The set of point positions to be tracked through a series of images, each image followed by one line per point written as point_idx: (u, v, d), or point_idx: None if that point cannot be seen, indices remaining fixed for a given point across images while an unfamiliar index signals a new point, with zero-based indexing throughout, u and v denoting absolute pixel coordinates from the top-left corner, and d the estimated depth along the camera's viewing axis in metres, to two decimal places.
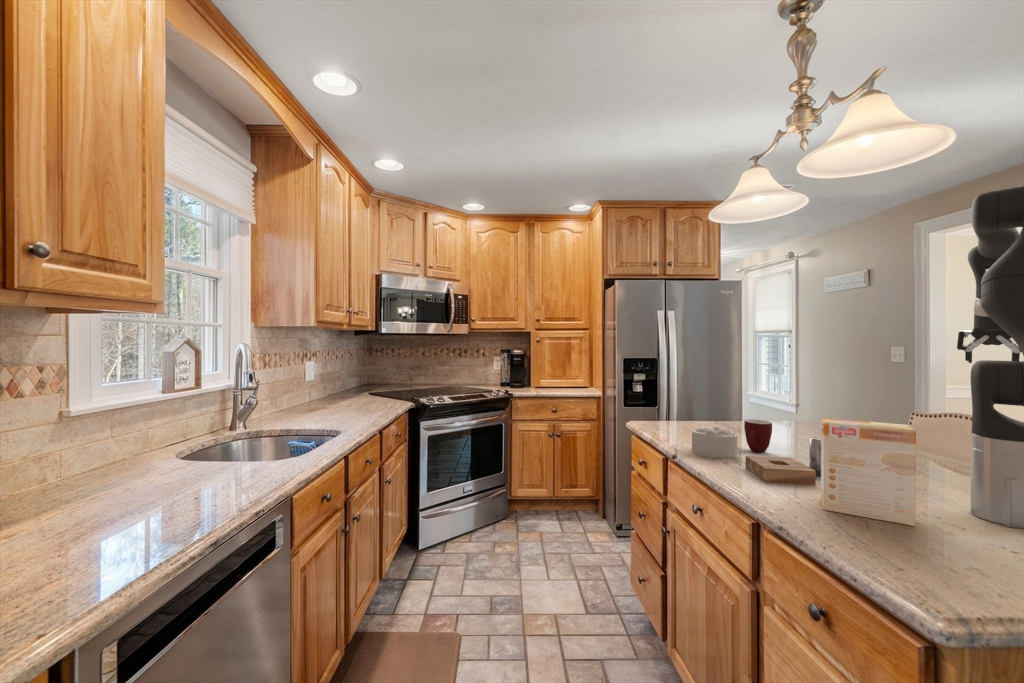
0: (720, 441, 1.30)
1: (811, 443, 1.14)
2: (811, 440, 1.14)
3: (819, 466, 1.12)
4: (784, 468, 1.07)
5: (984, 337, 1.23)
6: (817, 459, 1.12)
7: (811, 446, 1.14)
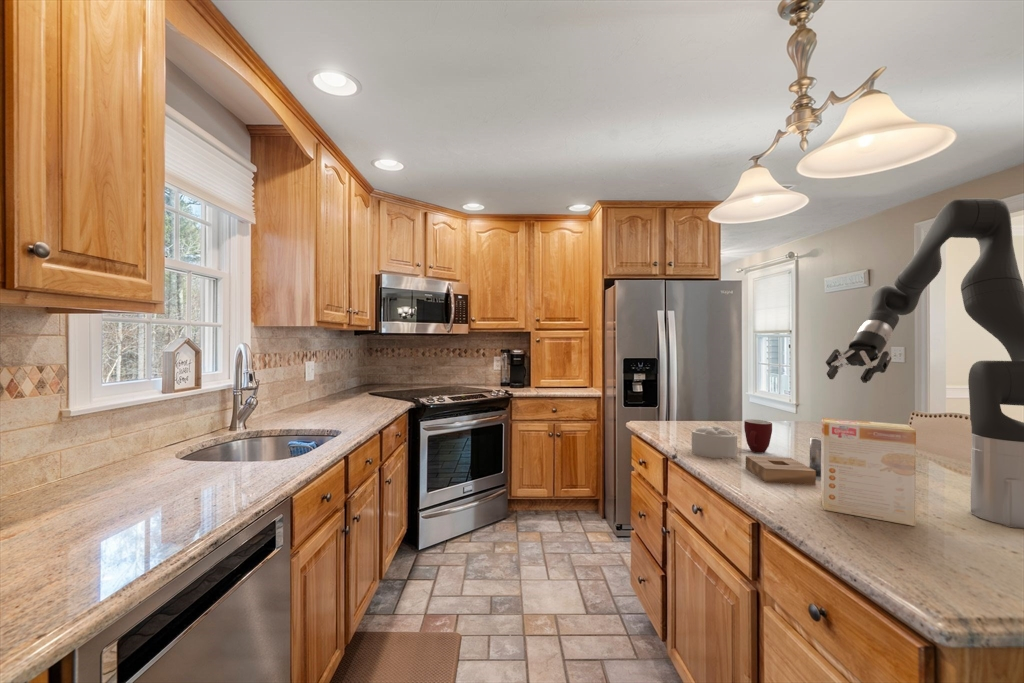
0: (719, 441, 1.30)
1: (811, 443, 1.14)
2: (811, 440, 1.14)
3: (819, 466, 1.12)
4: (784, 468, 1.07)
5: (850, 352, 1.22)
6: (817, 459, 1.12)
7: (811, 446, 1.14)
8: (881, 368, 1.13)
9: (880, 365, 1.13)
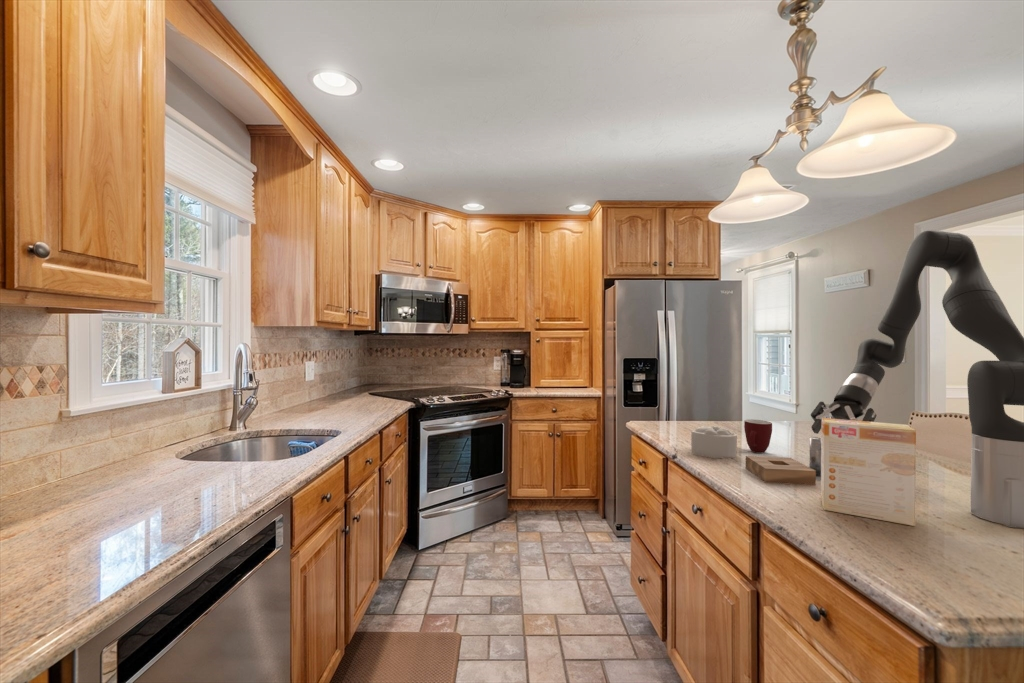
0: (719, 440, 1.30)
1: (811, 443, 1.14)
2: (811, 440, 1.14)
3: (819, 466, 1.12)
4: (784, 468, 1.07)
5: (835, 406, 1.19)
6: (817, 459, 1.12)
7: (811, 446, 1.14)
8: None
9: None
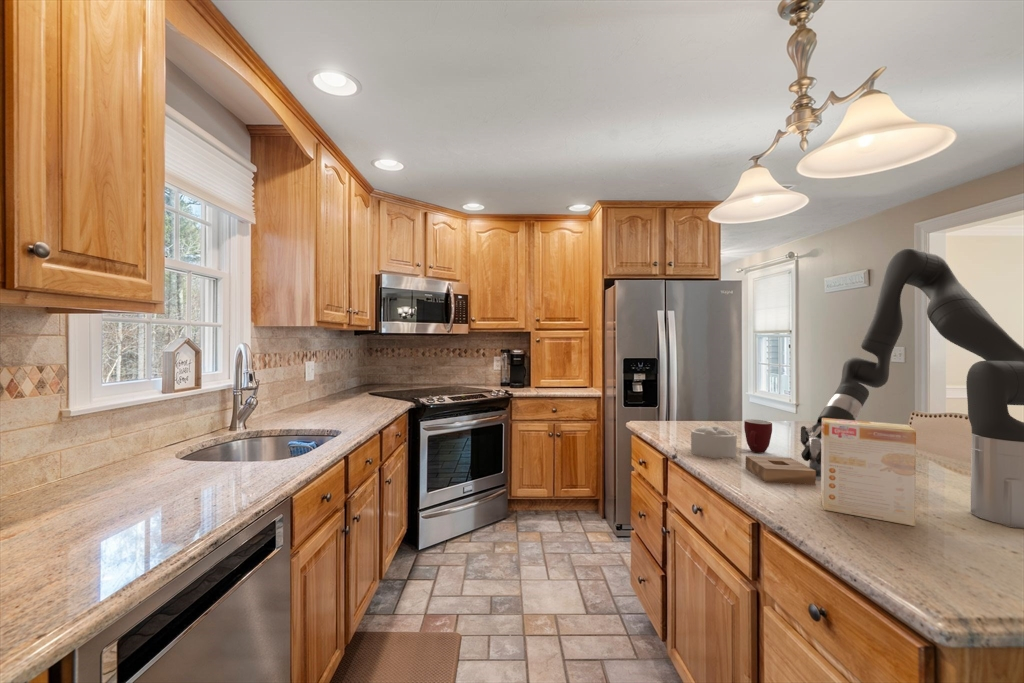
0: (719, 440, 1.30)
1: (811, 443, 1.14)
2: (811, 440, 1.14)
3: (819, 466, 1.12)
4: (784, 468, 1.07)
5: (818, 428, 1.16)
6: None
7: (811, 446, 1.14)
8: None
9: None
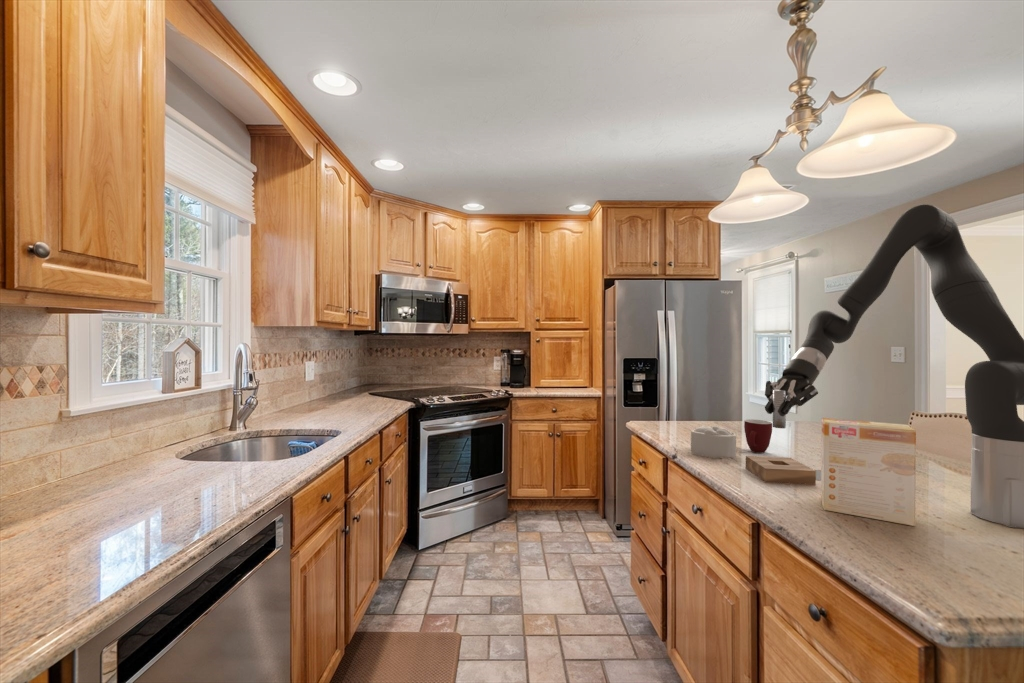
0: (719, 440, 1.30)
1: (774, 395, 1.12)
2: (774, 392, 1.12)
3: (782, 418, 1.11)
4: (784, 468, 1.07)
5: (782, 381, 1.15)
6: None
7: (774, 398, 1.12)
8: (798, 401, 1.09)
9: (796, 398, 1.09)
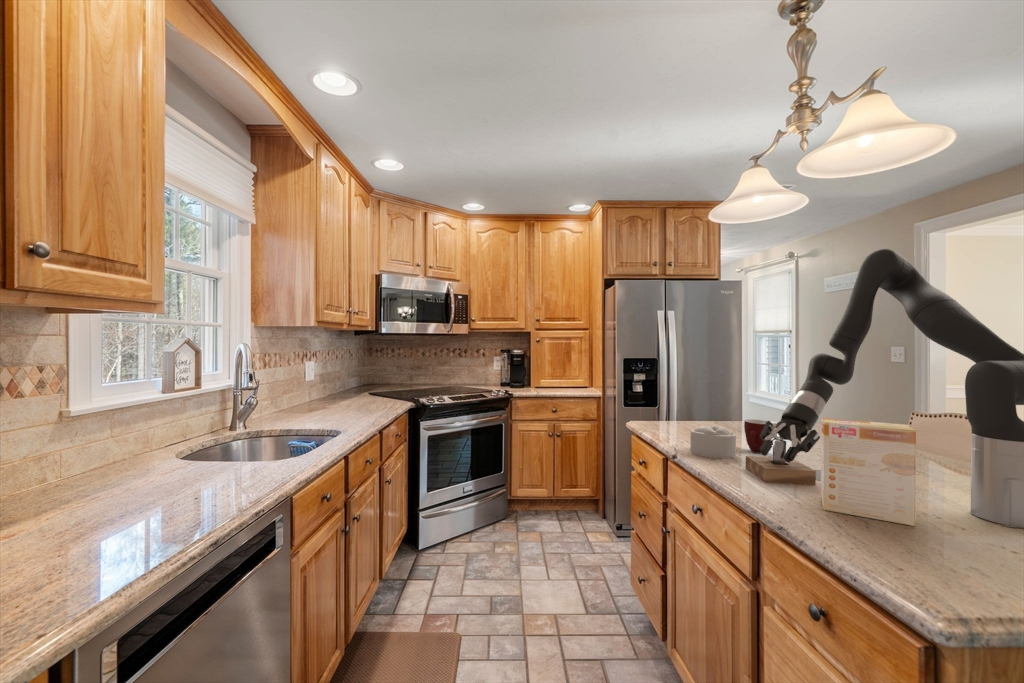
0: (718, 440, 1.30)
1: (774, 445, 1.12)
2: (774, 442, 1.12)
3: None
4: (784, 468, 1.07)
5: (782, 425, 1.15)
6: (780, 462, 1.11)
7: (774, 448, 1.12)
8: (804, 448, 1.07)
9: (803, 444, 1.07)
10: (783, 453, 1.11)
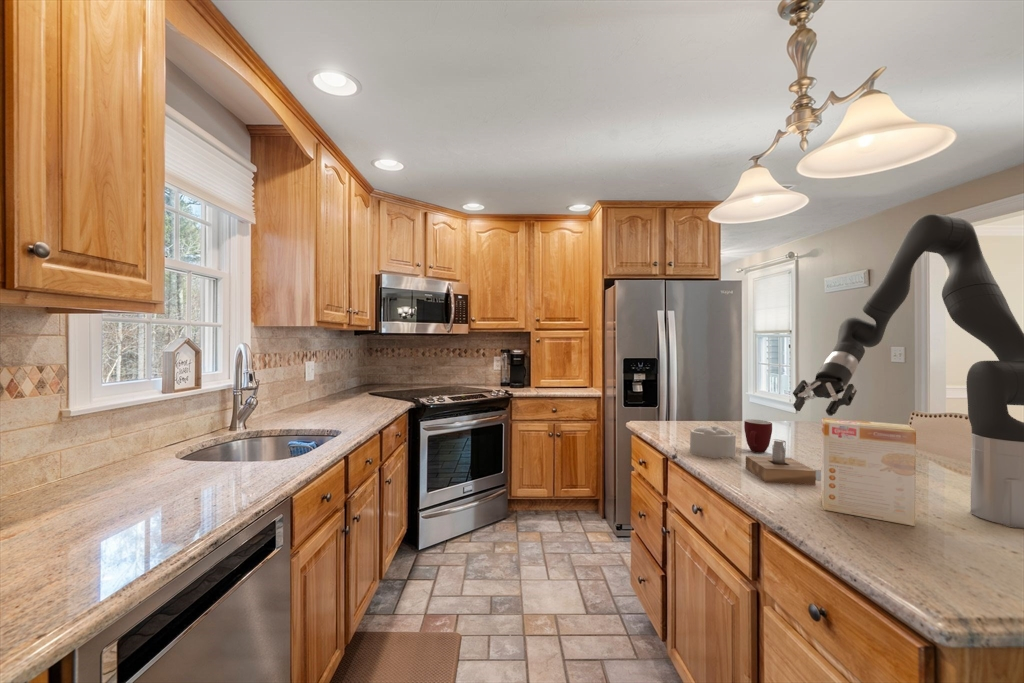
0: (718, 440, 1.30)
1: (773, 445, 1.12)
2: (773, 442, 1.12)
3: None
4: (784, 468, 1.07)
5: (817, 383, 1.20)
6: (779, 462, 1.11)
7: (773, 448, 1.12)
8: (846, 401, 1.11)
9: (845, 397, 1.11)
10: (782, 453, 1.11)
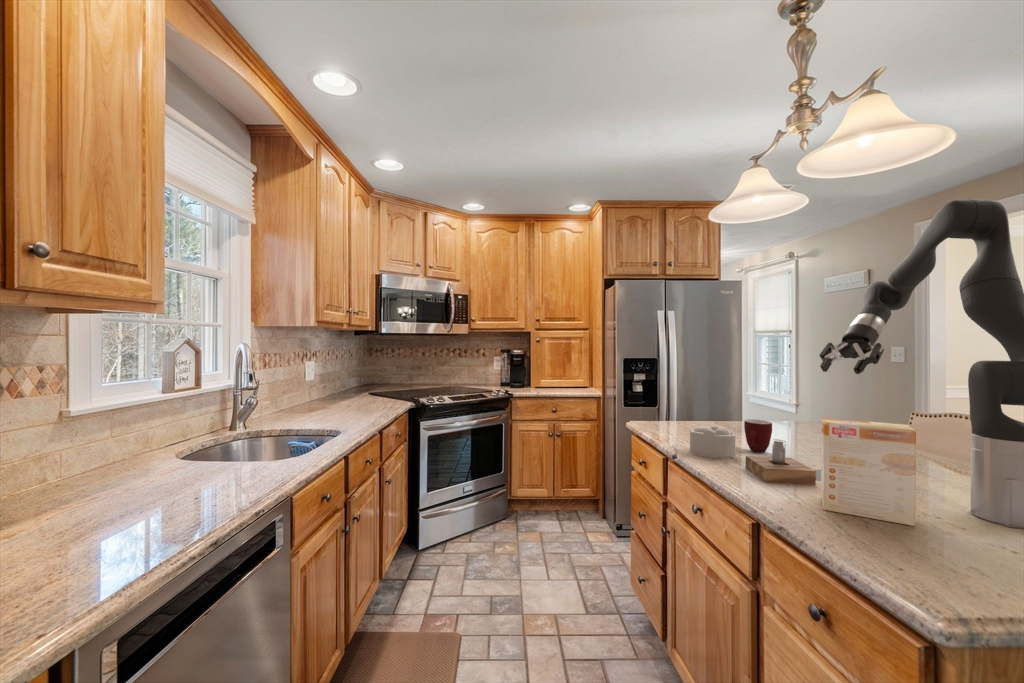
0: (718, 440, 1.31)
1: (773, 445, 1.12)
2: (773, 442, 1.12)
3: None
4: (784, 468, 1.07)
5: (843, 344, 1.23)
6: (779, 462, 1.11)
7: (773, 448, 1.12)
8: (874, 359, 1.14)
9: (872, 356, 1.14)
10: (782, 453, 1.11)
